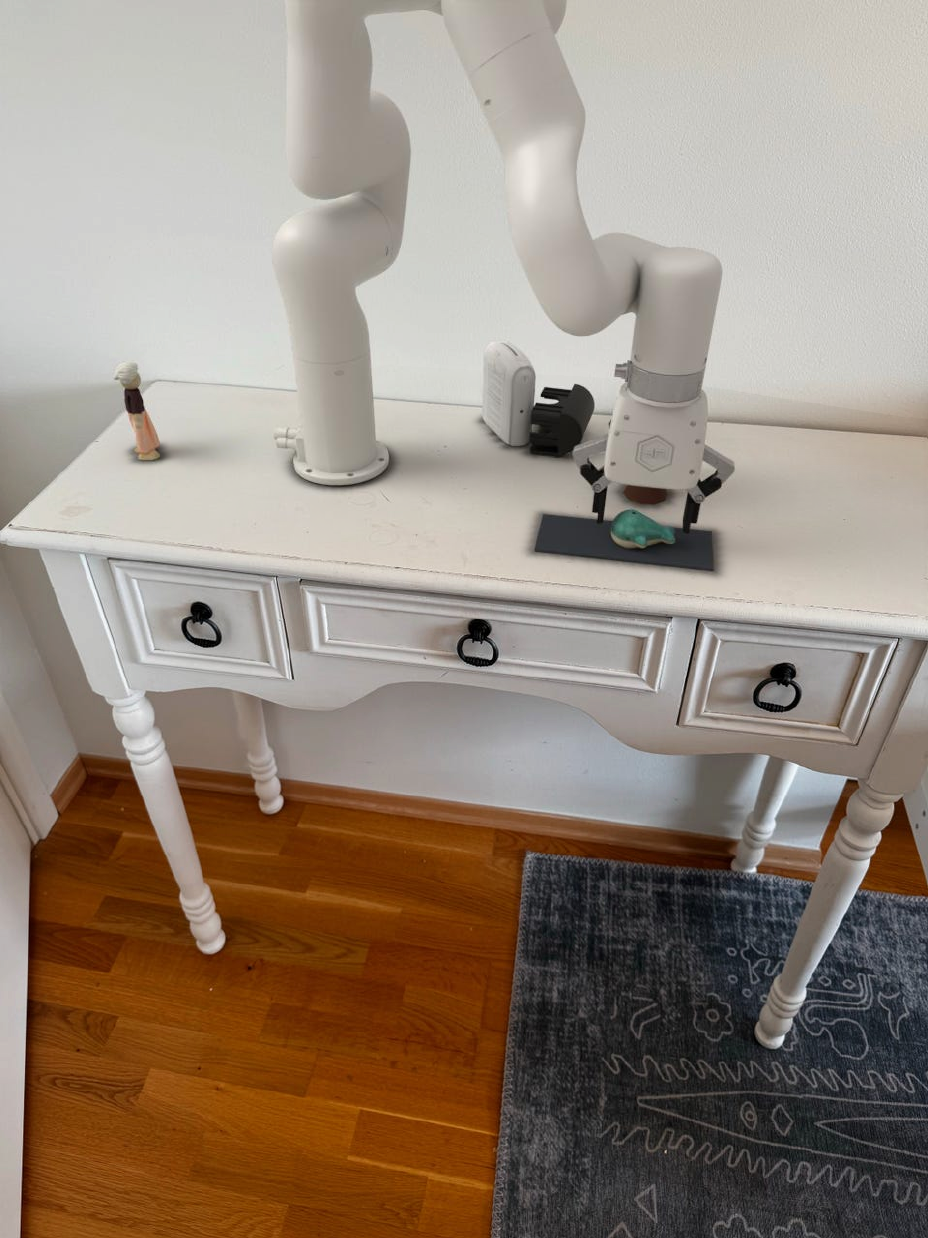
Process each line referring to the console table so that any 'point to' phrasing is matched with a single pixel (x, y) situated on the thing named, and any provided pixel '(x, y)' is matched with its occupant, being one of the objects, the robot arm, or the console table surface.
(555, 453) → the end cap
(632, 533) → the whale figurine
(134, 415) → the grandmother figurine
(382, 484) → the console table surface
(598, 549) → the plate
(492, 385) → the photo printer
